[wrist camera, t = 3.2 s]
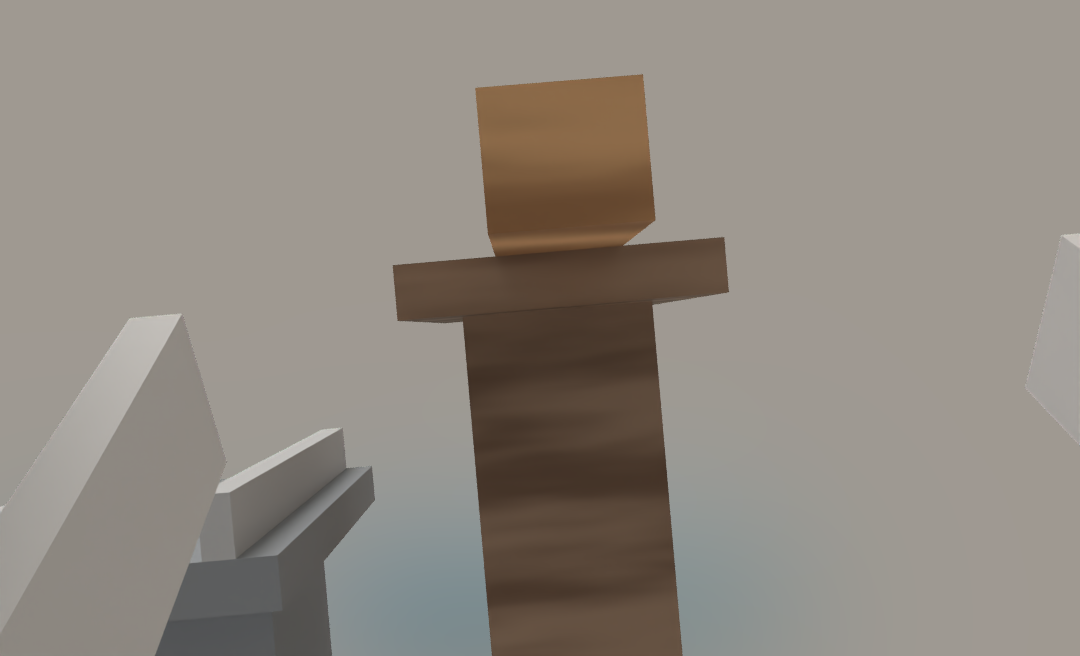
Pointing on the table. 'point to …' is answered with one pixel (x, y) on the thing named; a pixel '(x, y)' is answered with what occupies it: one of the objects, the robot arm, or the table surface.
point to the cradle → (269, 555)
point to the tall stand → (570, 436)
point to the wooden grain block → (565, 164)
